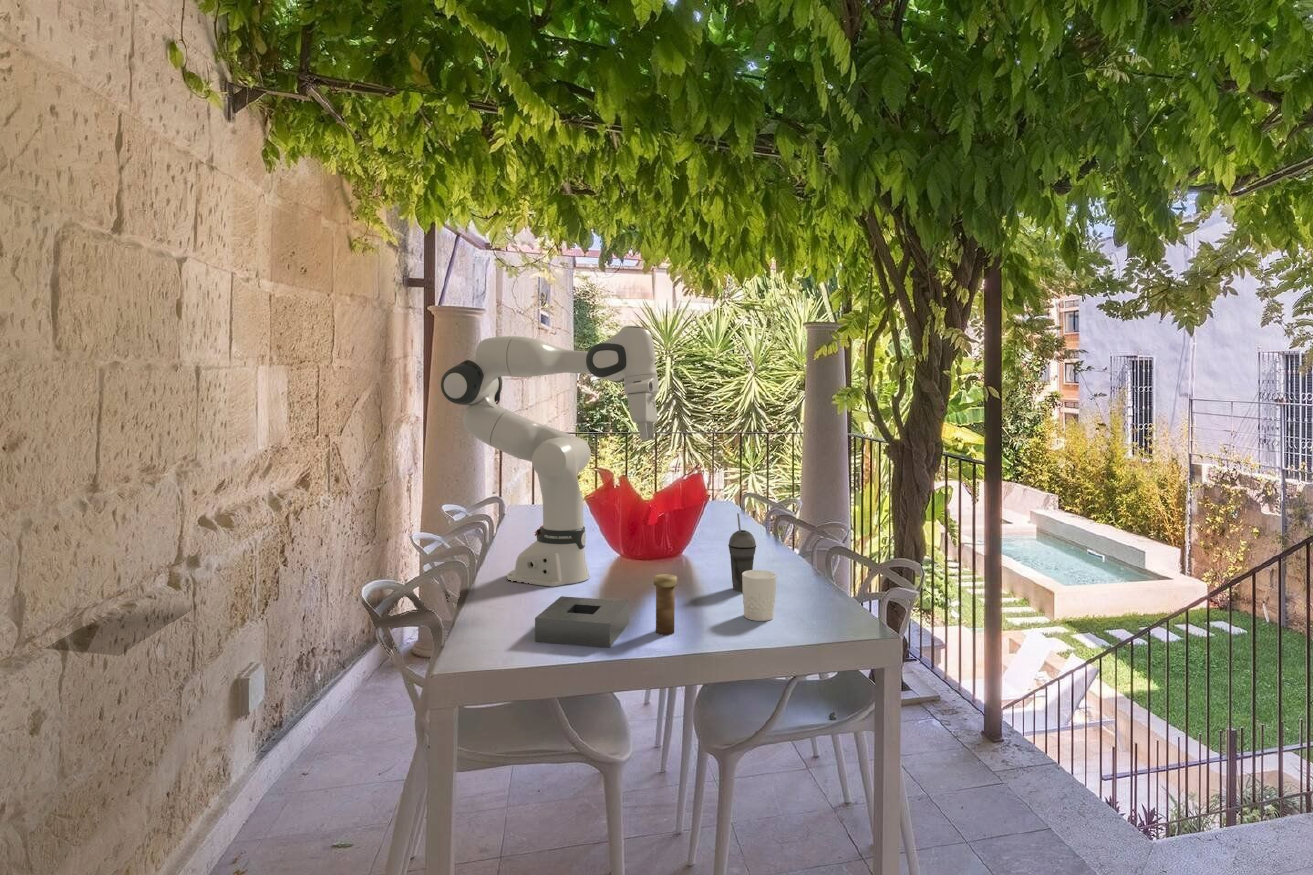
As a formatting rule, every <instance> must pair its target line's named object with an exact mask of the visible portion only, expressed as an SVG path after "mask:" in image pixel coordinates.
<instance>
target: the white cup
mask: <svg viewBox="0 0 1313 875" xmlns="http://www.w3.org/2000/svg"><path fill="white" fill-rule="evenodd" d="M777 578H778V577H777V573H776V572H774V571H771V570H770V571H769V570H764V569H753V570H749V571H745V572H743V573H742V586H743V592H742V604H743V616H744V617H745V619H747V620H749V621H750V620H751V621H755V622H767V621H771V620H773V619H774V616H775V605H776V596H777V580H778V579H777Z"/></svg>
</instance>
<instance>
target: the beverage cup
mask: <svg viewBox="0 0 1313 875" xmlns="http://www.w3.org/2000/svg"><path fill="white" fill-rule="evenodd" d="M736 515H737V525H738V526H737V527H738V530H736V531H734V533H732V535H731V536H730V537H729V540H728V545H727V546H728V549H729V555H730V566H731V567H730V568H731V570H730V571H731V583H732V590H733V591H736V592H741V593H743V586H742V573H743V572H745V571H749V570H754V569H753V568H754V567H753V566H754V561H755V560H754V558H755V554H756V549H757V548H756V547H757V543H756V540H755V537H754V535H753V534H752V533H751V532H749V531H748V530H746V529H742V528H741V519H740V513H736Z"/></svg>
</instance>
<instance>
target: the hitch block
mask: <svg viewBox="0 0 1313 875" xmlns="http://www.w3.org/2000/svg"><path fill="white" fill-rule="evenodd" d="M629 624H630V601H629V600H619V599H608V598H607V599H605V598H604V599H603V598H594V597H593V598H590V597H577V596H576V597H574V596H560V597H558V598H557V599H555V601H553V602H552V603H551V604H550V605H549V606H547V607H546V609H544V610H543V611H542V612H541V613H539V614H538V615H537V616H535V617H534V642H536V643H546V644H557V645H558V644H560V645H568V646H569V645H570V646H582V647H596V648H603V649H604V648H606V649H611V647H612V646H613V645H614V643H615V642H616V640H617V639H618V638H619V637H620V635H621V634H622V633H623V631H624V630H625V629H626V628H627V626H628V625H629Z"/></svg>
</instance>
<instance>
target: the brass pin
mask: <svg viewBox="0 0 1313 875" xmlns="http://www.w3.org/2000/svg"><path fill="white" fill-rule="evenodd" d="M677 585H678V576H677V575H675V574H669V573H663V574H662V573H660V574H656V575H654V576H653V586H655V633H656V634H657V633H658V635H660V634H663V635H662V636H669V634H671V635H673V634H674V633H675V613H676V612H675V608H676V607H675V604H676V603H675V599H676V598H675V594H676V591H675V586H677ZM672 633H673V634H672Z"/></svg>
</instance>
